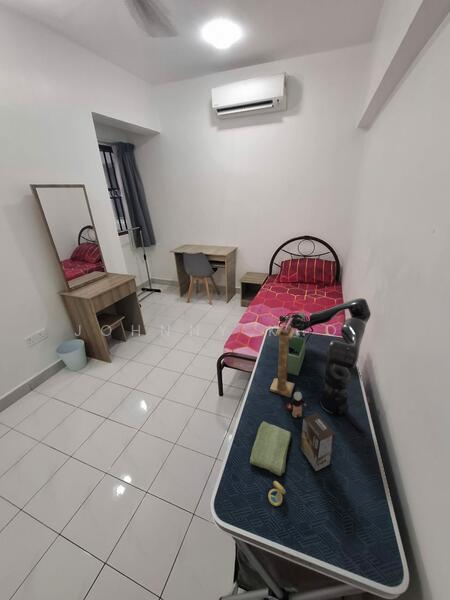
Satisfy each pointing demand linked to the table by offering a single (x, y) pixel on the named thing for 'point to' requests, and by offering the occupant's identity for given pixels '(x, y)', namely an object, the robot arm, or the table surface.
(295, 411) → the grandmother figurine
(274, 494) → the eyeshadow
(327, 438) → the coffee box
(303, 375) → the table surface
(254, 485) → the table surface
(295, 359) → the bin
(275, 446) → the washcloth
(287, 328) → the straw
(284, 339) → the straw stand
